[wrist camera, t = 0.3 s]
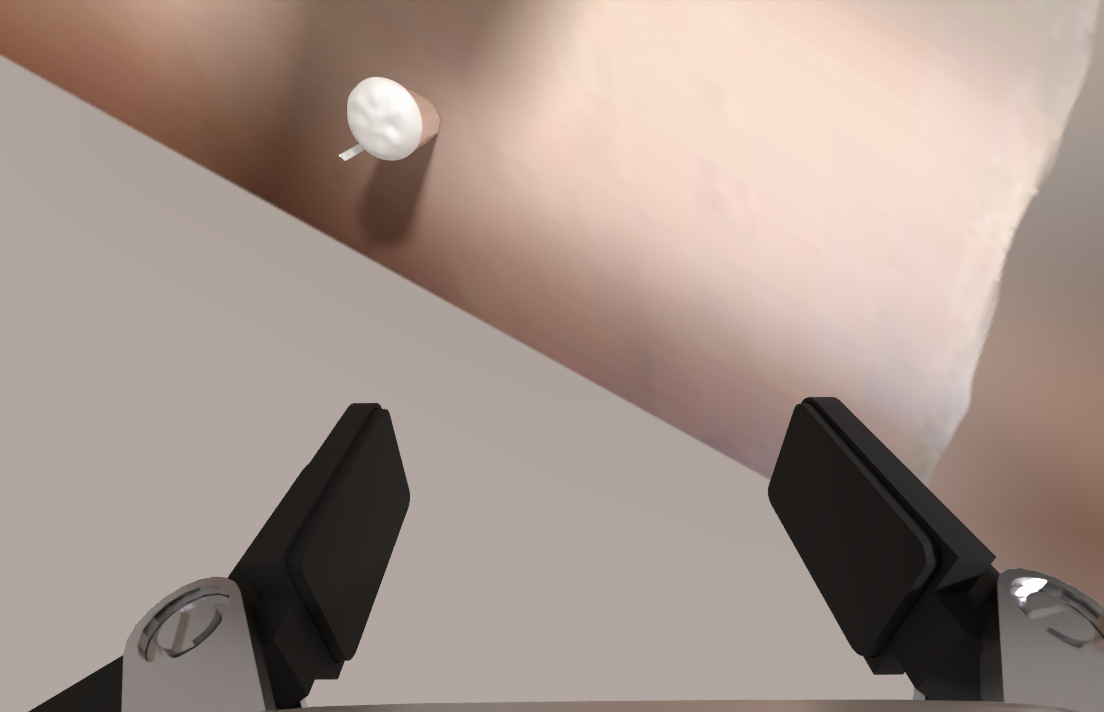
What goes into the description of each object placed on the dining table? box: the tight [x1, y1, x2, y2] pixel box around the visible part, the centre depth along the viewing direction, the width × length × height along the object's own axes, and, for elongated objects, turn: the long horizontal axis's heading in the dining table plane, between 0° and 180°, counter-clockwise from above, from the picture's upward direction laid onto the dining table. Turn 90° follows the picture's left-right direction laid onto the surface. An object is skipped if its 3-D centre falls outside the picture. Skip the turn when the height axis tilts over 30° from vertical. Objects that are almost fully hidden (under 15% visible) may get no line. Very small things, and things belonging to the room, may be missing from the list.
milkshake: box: [339, 77, 440, 161], centre depth 29 cm, size 5×5×10 cm
